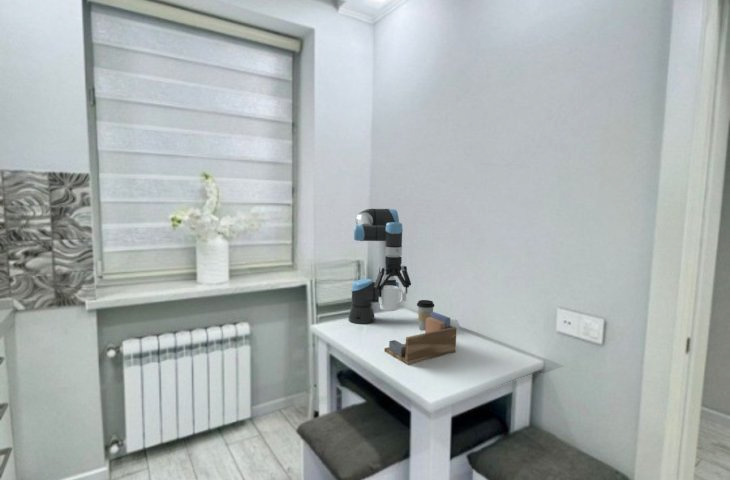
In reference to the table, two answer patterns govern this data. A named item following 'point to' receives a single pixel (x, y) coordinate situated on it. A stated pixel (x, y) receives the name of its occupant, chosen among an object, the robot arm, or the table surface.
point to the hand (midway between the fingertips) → (392, 302)
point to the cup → (391, 298)
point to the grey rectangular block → (397, 348)
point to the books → (436, 322)
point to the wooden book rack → (427, 346)
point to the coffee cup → (424, 312)
